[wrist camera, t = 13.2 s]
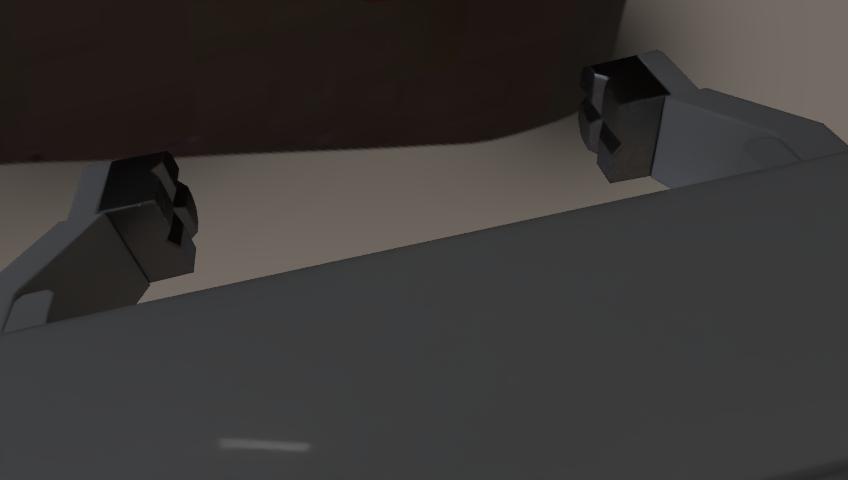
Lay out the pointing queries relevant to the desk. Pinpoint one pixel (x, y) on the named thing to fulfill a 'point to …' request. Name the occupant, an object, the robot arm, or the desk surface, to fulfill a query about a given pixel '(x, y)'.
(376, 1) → the onion
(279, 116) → the desk surface
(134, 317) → the robot arm
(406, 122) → the desk surface
